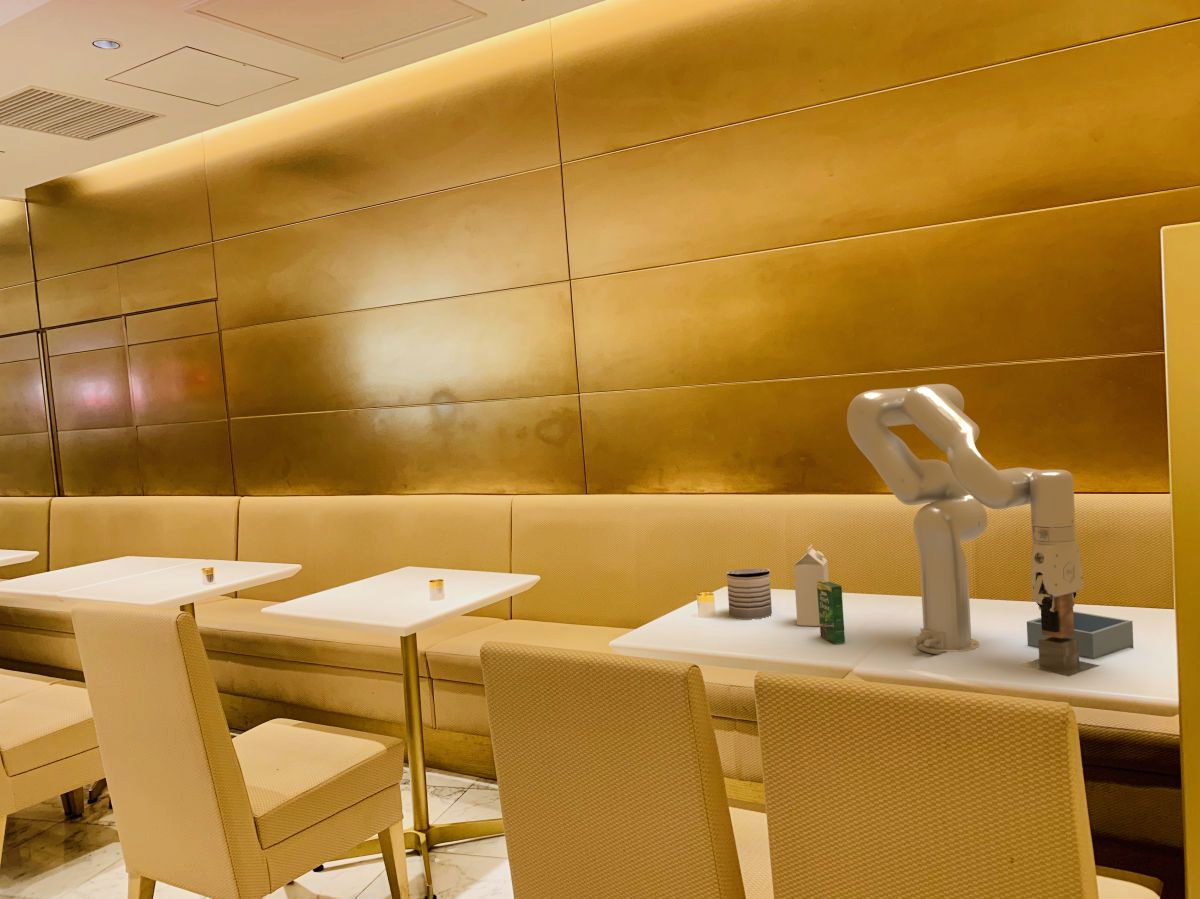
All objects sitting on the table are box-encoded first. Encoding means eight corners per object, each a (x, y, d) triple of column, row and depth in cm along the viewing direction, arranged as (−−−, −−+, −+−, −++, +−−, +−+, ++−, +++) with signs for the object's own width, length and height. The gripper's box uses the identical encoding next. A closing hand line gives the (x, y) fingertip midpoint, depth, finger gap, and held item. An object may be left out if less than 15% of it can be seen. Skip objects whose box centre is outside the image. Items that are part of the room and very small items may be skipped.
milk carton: (797, 626, 221) (792, 549, 220) (802, 619, 227) (797, 544, 226) (826, 627, 218) (822, 549, 217) (830, 619, 224) (826, 544, 224)
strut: (1064, 670, 170) (1060, 597, 170) (1039, 665, 175) (1036, 593, 174) (1079, 665, 173) (1076, 593, 172) (1054, 659, 177) (1051, 589, 177)
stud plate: (1069, 681, 167) (1067, 655, 167) (1019, 670, 176) (1018, 645, 175) (1100, 670, 172) (1099, 645, 172) (1050, 659, 181) (1049, 635, 181)
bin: (1093, 664, 176) (1092, 633, 176) (1027, 650, 188) (1026, 621, 188) (1133, 650, 183) (1132, 621, 183) (1067, 637, 195) (1066, 610, 195)
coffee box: (818, 636, 210) (815, 580, 209) (830, 634, 211) (827, 579, 210) (833, 644, 202) (830, 586, 202) (845, 643, 203) (842, 585, 202)
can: (726, 620, 231) (723, 573, 231) (730, 609, 242) (728, 565, 242) (771, 619, 229) (769, 573, 228) (773, 609, 240) (771, 564, 239)
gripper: (1045, 542, 165) (1049, 640, 166) (1098, 530, 174) (1102, 624, 175) (1008, 538, 172) (1013, 633, 173) (1061, 527, 180) (1065, 617, 181)
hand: (1057, 627), depth 174 cm, fingers closed on strut, 4 cm apart
